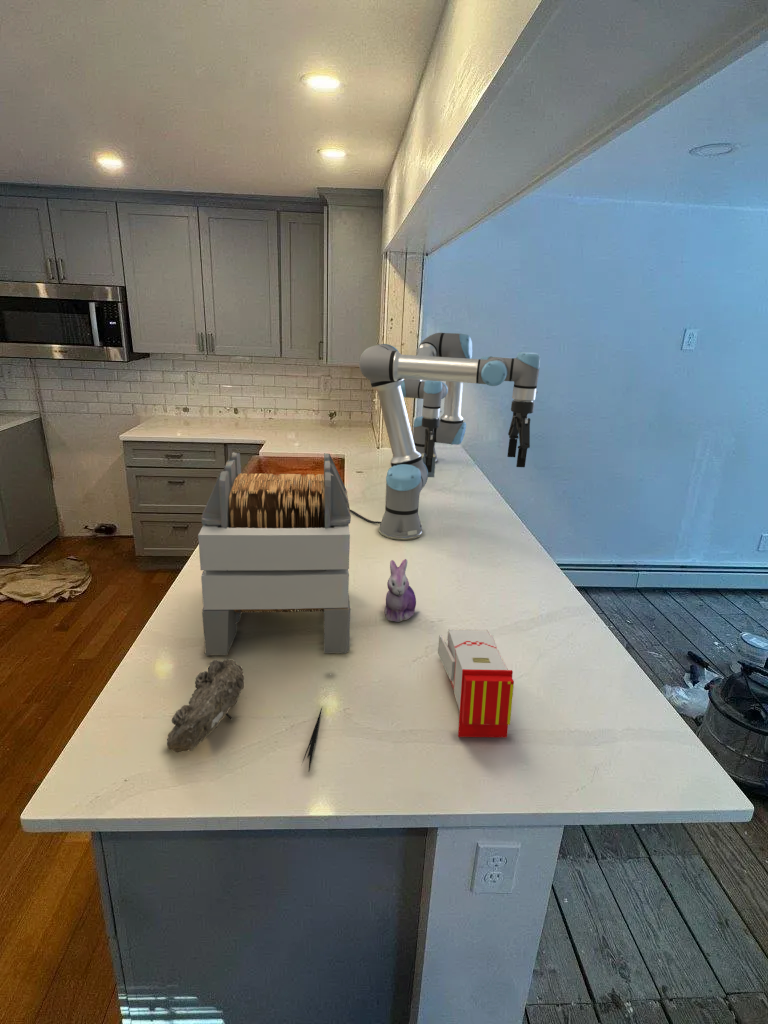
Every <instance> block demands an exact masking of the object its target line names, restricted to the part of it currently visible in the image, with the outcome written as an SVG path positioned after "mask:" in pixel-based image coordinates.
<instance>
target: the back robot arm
mask: <svg viewBox="0 0 768 1024" xmlns="http://www.w3.org/2000/svg"><path fill="white" fill-rule="evenodd" d="M416 355H418V356H434V357H451V358H467V359H473V340H472V337H471V336H470V335H469V334H467V333H453V332H436V333H433V334H431V335H429V336H426V337H425V338H424V339H423V340H422V341H421V342H420V343H419V345H418V347H417V349H416ZM401 389H402V393H403V397H404V399H405V398H406V399H408V398H409V399H420V400H422V410H421V411H422V412H421V416H417V417H416V418H415V419H414V420H413V426H412V436H413V440H414V444H415V448H416V451H417V452H419V453H420V454H421V453H424V454H427V456H425V458H426V464H425V465H426V467H427V470H428V472H431V470H432V458H433V454H434V455H435V457H436V459H435V464H436V463H438V455H437V450H436V444H437V443H438V444H445V445H453V446H454V445H456V446H457V445H461V444H462V443H463V441H464V437H465V434H466V429H467V423H466V422H465V421H464V417H463V416H462V403H463V390H464V383H462V382H447V381H445V382H444V381H431V380H415V379H404V380H403V382H402V384H401ZM442 400H444V402H443V403H444V404H443V410H442V409H441V407H442V406H441V405H442ZM442 412H443V414H442V415H441V413H442Z"/></svg>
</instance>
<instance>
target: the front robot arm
mask: <svg viewBox="0 0 768 1024" xmlns="http://www.w3.org/2000/svg"><path fill="white" fill-rule="evenodd" d="M358 361H359V362H358V368H359V370H360V372H361V375H362V376H363V377H364V378H366V379H367V380H368V381H369V382H370V386H371V388H372V389H373V390H375V391H376V392H377V397H378V401H379V404H380V409H381V413H382V416H383V420H384V424H385V430H386V433H387V437H388V441H389V445H390V449H391V453H392V458H391V459H390V462H389V463H390V466H391V467H389V468H388V470H387V471H386V476H385V483H386V484H385V504H384V505H385V507H384V508H385V509H384V513H383V515H382V519H381V521H379V520H378V521H377V520H376V521H374V520H370V519H369V518H366V517H365V516H362V515H361V514H359V513H358V512H356V511H354V510H352V509H350V513H352V514H354V515H356V516H357V517H359V518H360V519H362V520H364V521H366V522H368V523H371V524H379V527H378V533H379V534H380V535H381V536H382V537H385V538H387V539H389V540H395V541H410V540H415V539H418V538H420V537H421V536H422V535H423V525H422V524H421V518H420V515H419V507H420V506H419V505H420V496H421V495H420V494H421V492H422V491H423V488H424V487H425V486H426V484H427V483H428V480H429V479H428V478H429V477H428V470H427V467H426V465H425V464H424V463H423V460H422V456H421V454H420V453H419V452H417V451H416V448H415V444H414V440H413V430H412V427H411V423H410V420H409V414H408V411H407V407H406V402H405V397H403V393H402V389H401V384H402V382H403V380H405V379H415V380H423V381H426V380H431V381H441V382H446V381H447V382H462V383H463V384H464V383H465V384H478V385H487V386H489V387H498V386H500V385H501V384H502V383H504V382H513V387H512V395H511V398H512V399H513V400H512V401H511V406H510V411H511V412H512V417H511V422H510V424H509V425H510V426H509V430H508V433H507V435H508V448H507V458H516V466H515V467H516V468H525V467H526V462H527V461H526V460H527V453H528V449H530V447H531V418H530V417H528V415H530V414H533V413H534V411H535V403H536V402H535V400H536V396H537V395H536V394H538V390H537V387H538V381H539V374H540V366H541V356H540V354H539V353H537V352H525V351H524V352H522V351H521V352H520V351H519V352H518V353H517V354H516V357H502V356H501V357H500V356H481V357H480V358H471V359H467V358H451V357H434V356H418V355H417V354H416V355H415V354H414V355H413V354H401V352H400V351H399V350H398V349H397V348H396V347H395V346H393V345H391V344H388V343H380V344H376V345H372V346H369V347H367V348H365V350H363V352H362V353H361V355H360V357H359V360H358ZM518 441H519V445H518ZM517 449H518V450H517ZM516 454H517V457H516Z"/></svg>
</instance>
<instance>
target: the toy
mask: <svg viewBox="0 0 768 1024" xmlns="http://www.w3.org/2000/svg"><path fill="white" fill-rule="evenodd" d="M446 640H447V643H446V641H445V639H444V636H443V635H442V634H439V637H438V646H437V656H438V657H439V659H440V661H441V663H442V666H443V668H444V670H445V672H446V674H447V677H448V679H449V681H450V684H451V687H452V690H453V693H454V697H455V701H456V705H457V708H458V711H459V714H458V715H459V716H458V730H457V731H458V732H457V737H458V738H508V731H509V726H510V725H511V717H512V707H513V697H514V696H513V695H514V684H515V680H514V679H513V673H514V671H513V670H512V669H508V667H507V665H506V662H505V661H504V659H503V658H502V655H501V653H500V651H499V649H498V647H497V643H496V639H495V637H494V635H493V634H491V632H490V631H489V629H467V628H466V629H465V628H463V629H461V628H460V629H459V628H448V630H447V639H446Z"/></svg>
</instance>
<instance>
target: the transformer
mask: <svg viewBox="0 0 768 1024" xmlns="http://www.w3.org/2000/svg"><path fill="white" fill-rule="evenodd" d="M241 463H242V462H241V453H240V452H235V451H233V452H231V455H230V457H229V459H227V460H226V463H225V466H224V468H223V470H222V471H220V474H219V475H218V477H217V479H216V482H215V483H214V486H213V489H212V491H211V494H210V495H209V498H208V499H207V502H206V505H205V507H204V509H203V511H202V514H201V517H200V520H201V524H202V527H201V529H200V530H199V532H198V535H197V538H198V550H199V552H198V553H199V563H200V565H199V567H200V571H202V573H201V575H200V580H201V581H200V582H201V594H202V605H203V607H202V609H201V610H202V611H201V617H202V629H203V638H204V639H203V640H204V649H205V650H204V651H205V652H204V655H205V656H206V657H212V656H228V654H229V652H230V650H231V647H232V645H233V643H234V640H235V638H236V635H237V632H238V623H240V620H241V617H242V614H244V613H250V614H251V613H253V614H254V613H257V614H258V613H298V612H301V613H302V612H308V613H309V612H322V614H323V654H344V655H346V654H347V653H349V652H350V639H351V604H350V595H349V594H350V593H349V586H350V585H349V584H350V572H349V571H350V570H349V569H350V549H351V548H350V547H351V545H350V542H351V533H350V532H351V531H350V526H349V525H350V524H351V520H352V516H351V515H352V514H351V512H350V510H351V509H350V502H349V496H348V490H347V488H346V486H345V484H344V482H343V480H342V478H341V474H340V473H339V471H338V469H337V466H336V465H335V462H334V460H333V458H332V455H331V454H330V453H326V452H324V453H323V473H322V474H321V473H318V474H316V475H315V474H314V473H306V474H303V475H302V474H301V473H280V474H273V473H244V472H243V473H242V466H241Z"/></svg>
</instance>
